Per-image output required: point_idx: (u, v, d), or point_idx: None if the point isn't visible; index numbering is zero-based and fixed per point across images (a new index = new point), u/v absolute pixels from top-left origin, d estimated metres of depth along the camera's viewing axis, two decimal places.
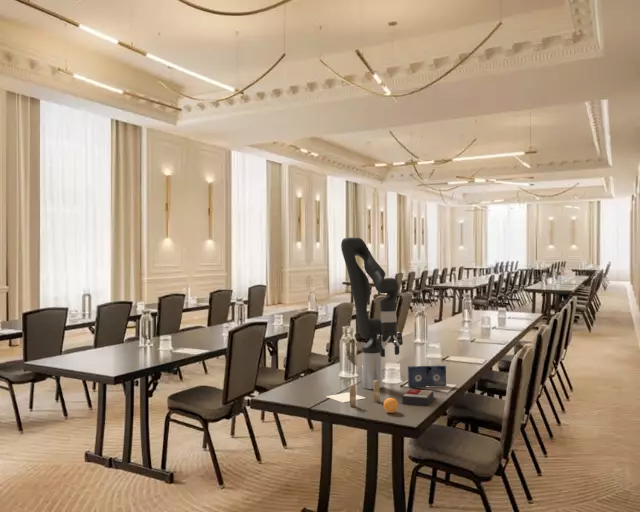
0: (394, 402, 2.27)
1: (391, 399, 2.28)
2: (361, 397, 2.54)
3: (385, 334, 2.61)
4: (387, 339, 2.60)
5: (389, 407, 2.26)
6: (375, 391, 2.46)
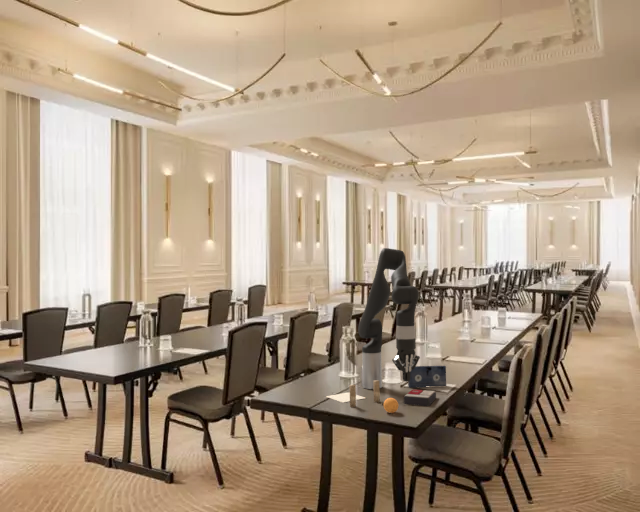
0: (394, 402, 2.27)
1: (391, 399, 2.28)
2: (361, 397, 2.54)
3: (401, 354, 2.18)
4: (406, 360, 2.19)
5: (389, 407, 2.26)
6: (375, 391, 2.46)
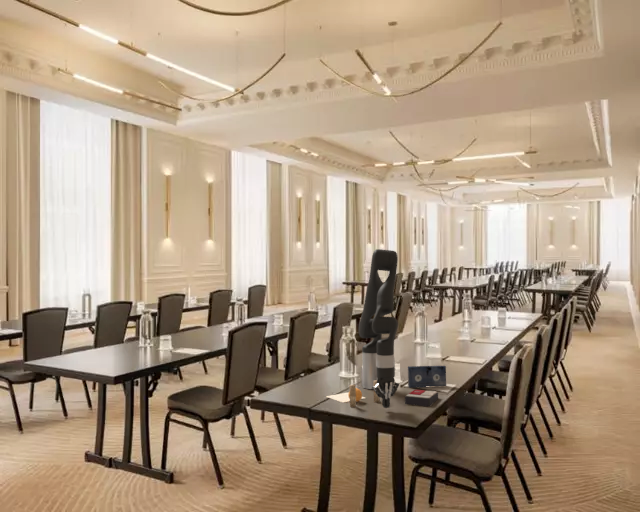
0: None
1: None
2: None
3: (380, 381, 2.29)
4: (385, 388, 2.29)
5: None
6: None
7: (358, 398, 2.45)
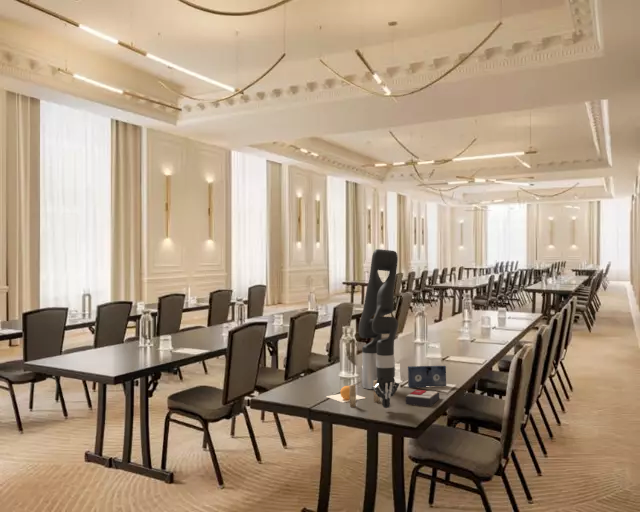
0: None
1: None
2: (361, 397, 2.54)
3: (380, 381, 2.29)
4: (385, 388, 2.29)
5: (340, 391, 2.52)
6: None
7: (346, 386, 2.51)
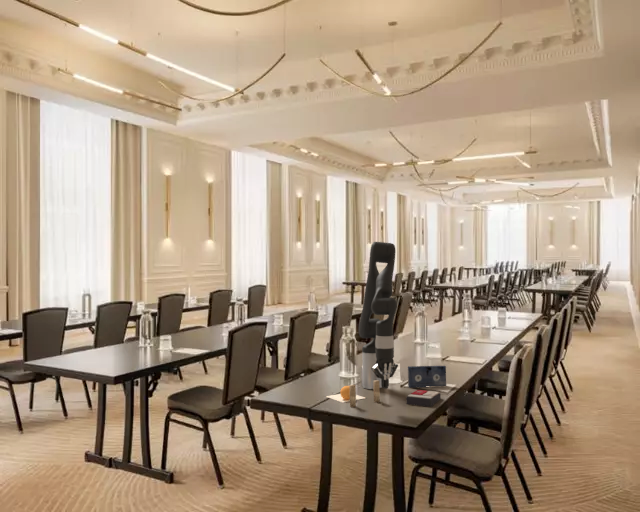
0: None
1: None
2: (361, 397, 2.54)
3: (379, 362, 2.29)
4: (384, 368, 2.30)
5: (340, 391, 2.52)
6: (375, 391, 2.46)
7: (346, 386, 2.51)
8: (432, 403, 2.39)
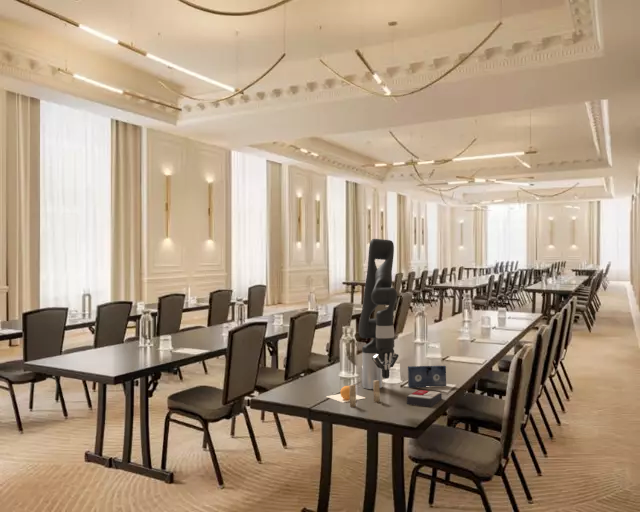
0: None
1: None
2: (361, 397, 2.54)
3: (380, 352, 2.29)
4: (385, 358, 2.29)
5: (340, 391, 2.52)
6: (375, 391, 2.46)
7: (346, 386, 2.51)
8: (432, 403, 2.39)
